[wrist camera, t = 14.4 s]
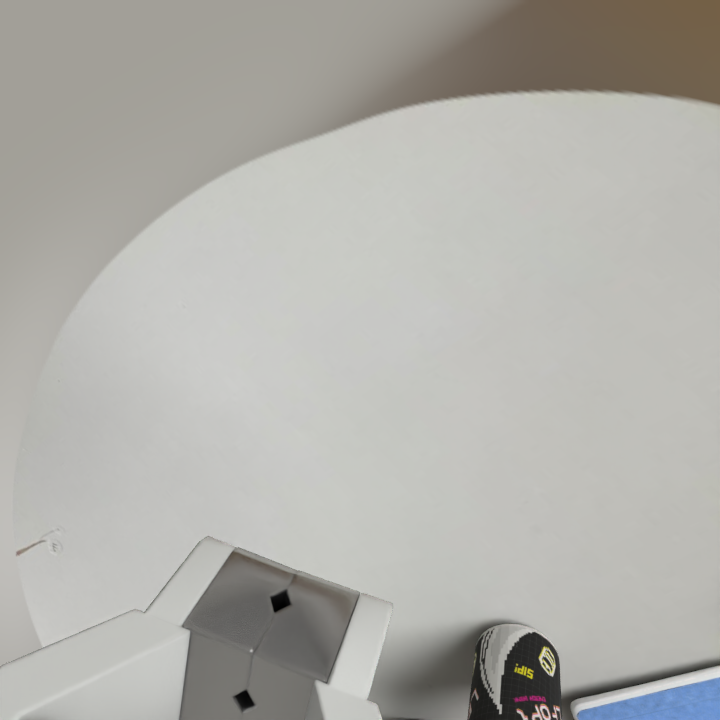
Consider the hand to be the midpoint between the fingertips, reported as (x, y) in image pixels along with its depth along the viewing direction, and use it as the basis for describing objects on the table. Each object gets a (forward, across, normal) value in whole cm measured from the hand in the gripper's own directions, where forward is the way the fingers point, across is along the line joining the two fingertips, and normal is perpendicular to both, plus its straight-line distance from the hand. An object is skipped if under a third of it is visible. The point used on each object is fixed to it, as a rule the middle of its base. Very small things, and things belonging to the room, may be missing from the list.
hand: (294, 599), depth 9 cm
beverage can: (+28, -11, +27) cm, 41 cm away
